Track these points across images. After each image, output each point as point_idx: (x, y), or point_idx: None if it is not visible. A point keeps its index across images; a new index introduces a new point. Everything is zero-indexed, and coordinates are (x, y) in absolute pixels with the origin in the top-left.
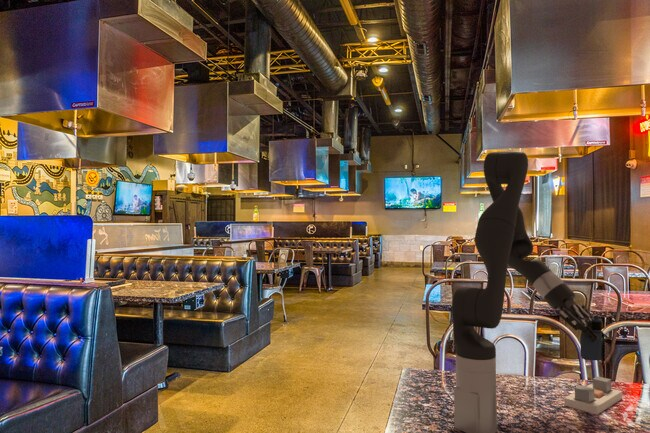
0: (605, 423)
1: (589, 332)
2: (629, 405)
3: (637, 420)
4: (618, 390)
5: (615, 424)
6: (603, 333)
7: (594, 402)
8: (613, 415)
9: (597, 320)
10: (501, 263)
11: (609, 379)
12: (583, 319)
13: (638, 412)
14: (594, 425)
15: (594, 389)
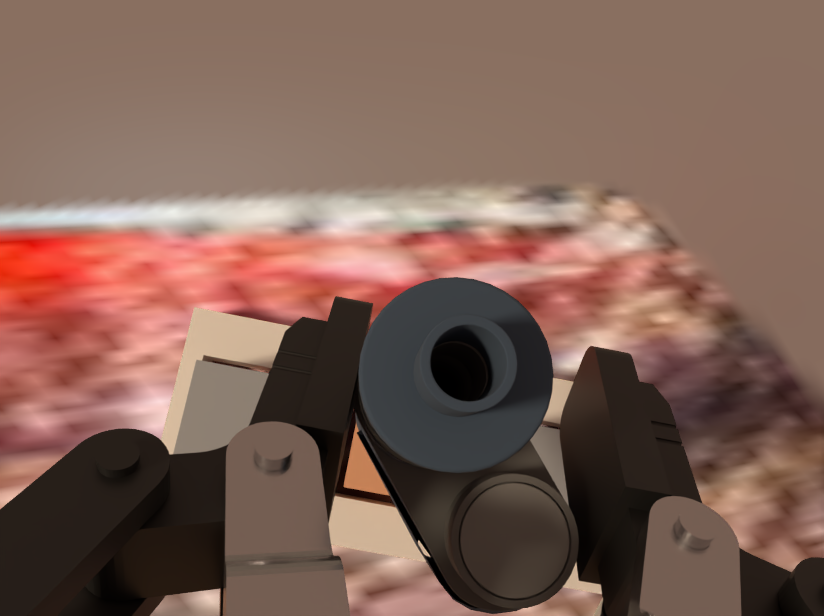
0: (706, 339)
1: (682, 456)
2: (315, 268)
3: (544, 214)
4: (189, 328)
5: (684, 297)
6: (355, 312)
7: (558, 416)
8: (555, 321)
9: (541, 339)
10: None
11: (205, 369)
12: (649, 613)
13: (409, 218)
14: (775, 380)
15: (356, 450)
